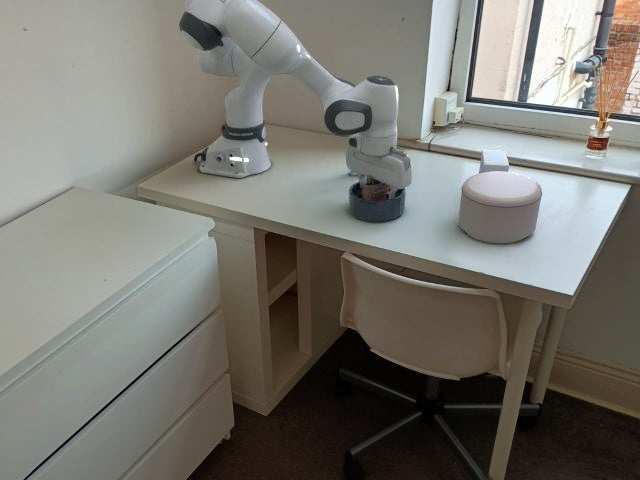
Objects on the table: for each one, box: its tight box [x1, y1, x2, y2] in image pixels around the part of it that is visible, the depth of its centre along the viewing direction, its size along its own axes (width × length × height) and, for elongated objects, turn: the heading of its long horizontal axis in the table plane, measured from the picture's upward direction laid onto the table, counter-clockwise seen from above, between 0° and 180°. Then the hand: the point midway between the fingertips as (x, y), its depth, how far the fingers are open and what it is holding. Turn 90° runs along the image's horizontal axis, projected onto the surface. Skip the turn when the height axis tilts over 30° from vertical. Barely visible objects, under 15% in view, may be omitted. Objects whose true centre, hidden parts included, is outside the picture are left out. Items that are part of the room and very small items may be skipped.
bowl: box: [348, 180, 407, 222], centre depth 176 cm, size 14×14×6 cm
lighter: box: [362, 176, 389, 201], centre depth 175 cm, size 8×3×10 cm, turn 113°
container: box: [458, 171, 543, 244], centre depth 161 cm, size 18×18×12 cm
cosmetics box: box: [478, 149, 510, 174], centre depth 178 cm, size 10×6×10 cm, turn 166°
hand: (377, 193), depth 175 cm, fingers open, 8 cm apart
